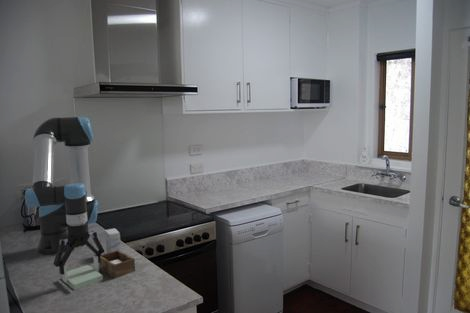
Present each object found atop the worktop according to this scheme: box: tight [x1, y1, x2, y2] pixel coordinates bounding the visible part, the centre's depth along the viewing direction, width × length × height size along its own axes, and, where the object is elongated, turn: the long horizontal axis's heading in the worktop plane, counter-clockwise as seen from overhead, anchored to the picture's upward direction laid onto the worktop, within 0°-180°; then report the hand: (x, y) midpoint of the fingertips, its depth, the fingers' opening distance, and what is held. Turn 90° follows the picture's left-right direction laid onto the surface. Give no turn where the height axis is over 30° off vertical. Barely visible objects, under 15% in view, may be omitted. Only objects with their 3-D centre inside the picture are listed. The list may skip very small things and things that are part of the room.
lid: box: [60, 264, 104, 291], centre depth 143 cm, size 14×11×3 cm
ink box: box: [104, 227, 123, 254], centre depth 167 cm, size 9×5×12 cm, turn 33°
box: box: [98, 250, 136, 279], centre depth 151 cm, size 14×9×6 cm, turn 45°
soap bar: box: [110, 259, 122, 264], centre depth 151 cm, size 6×4×3 cm, turn 45°
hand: (81, 276), depth 143 cm, fingers open, 12 cm apart
